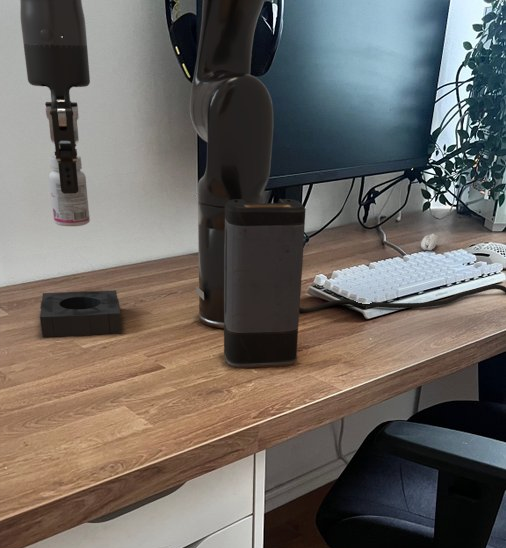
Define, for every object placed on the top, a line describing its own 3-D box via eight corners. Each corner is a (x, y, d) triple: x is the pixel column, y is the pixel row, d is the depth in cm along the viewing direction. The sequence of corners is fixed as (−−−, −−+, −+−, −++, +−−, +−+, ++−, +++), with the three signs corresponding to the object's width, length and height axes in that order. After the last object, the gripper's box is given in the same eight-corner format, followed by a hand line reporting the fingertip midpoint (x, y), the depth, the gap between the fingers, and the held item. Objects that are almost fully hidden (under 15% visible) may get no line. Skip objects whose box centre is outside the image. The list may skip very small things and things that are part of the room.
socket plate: (118, 308, 108) (116, 289, 107) (122, 333, 99) (121, 313, 97) (44, 311, 106) (42, 292, 105) (41, 337, 97) (38, 317, 95)
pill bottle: (57, 219, 96) (49, 154, 92) (91, 219, 97) (86, 154, 92) (51, 226, 92) (43, 159, 88) (87, 227, 93) (81, 159, 88)
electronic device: (288, 349, 95) (297, 198, 85) (298, 366, 90) (309, 207, 80) (222, 352, 94) (223, 198, 84) (228, 369, 89) (229, 208, 79)
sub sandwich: (439, 245, 150) (441, 232, 149) (432, 253, 144) (434, 240, 143) (424, 243, 151) (426, 230, 150) (417, 251, 145) (419, 238, 144)
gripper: (88, 42, 78) (100, 199, 87) (85, 43, 90) (96, 180, 99) (19, 40, 77) (39, 200, 85) (26, 41, 89) (42, 181, 97)
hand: (69, 188), depth 92 cm, fingers closed on pill bottle, 4 cm apart
